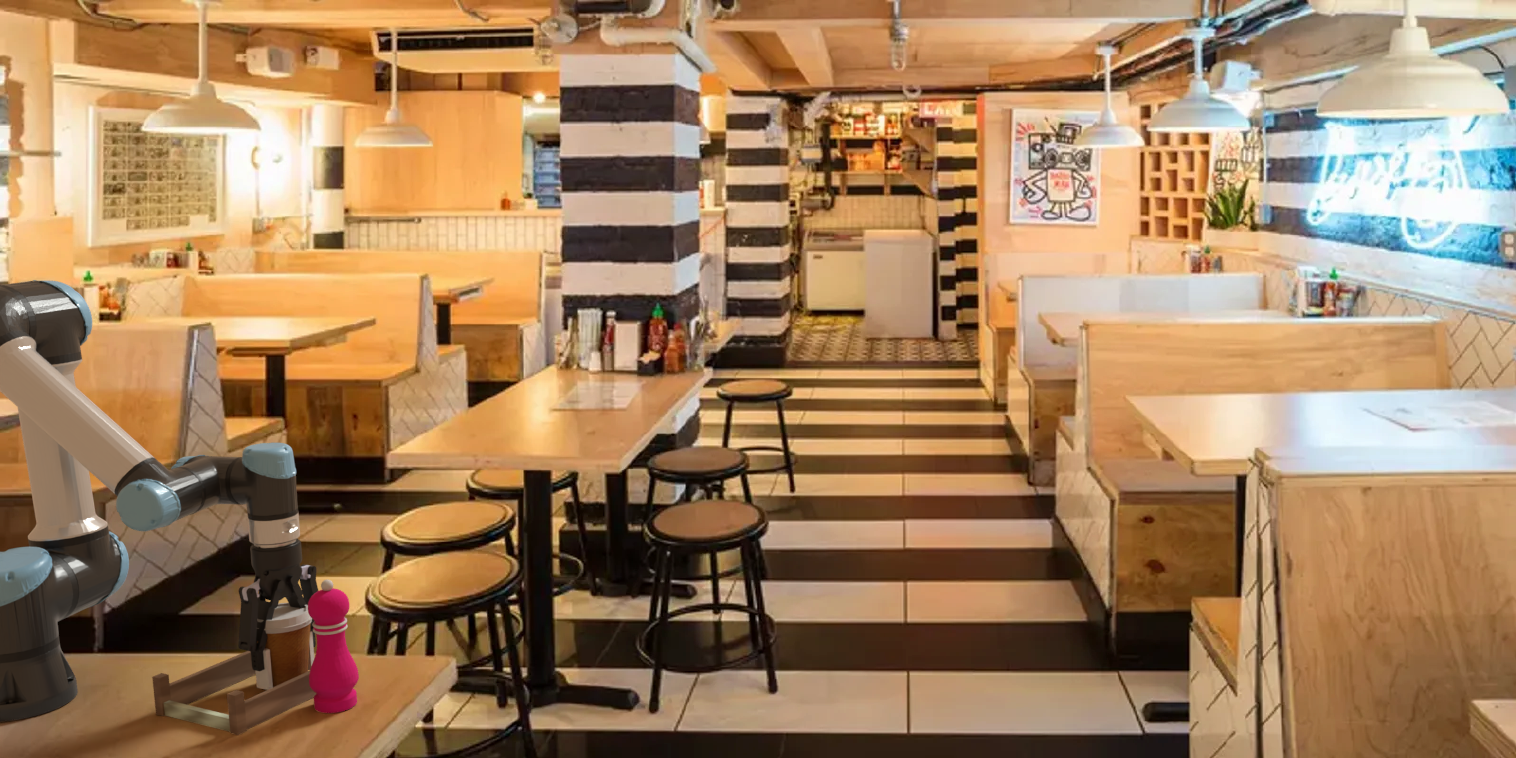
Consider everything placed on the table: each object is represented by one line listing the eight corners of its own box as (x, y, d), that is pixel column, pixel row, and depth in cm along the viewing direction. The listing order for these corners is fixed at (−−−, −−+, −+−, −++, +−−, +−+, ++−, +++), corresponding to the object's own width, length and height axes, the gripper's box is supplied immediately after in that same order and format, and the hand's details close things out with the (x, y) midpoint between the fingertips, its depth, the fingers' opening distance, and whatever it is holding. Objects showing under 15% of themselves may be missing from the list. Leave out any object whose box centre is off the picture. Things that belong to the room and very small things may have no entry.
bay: (155, 714, 191) (152, 676, 190) (262, 667, 209) (259, 633, 208) (238, 735, 183) (234, 695, 182) (341, 684, 201) (338, 648, 200)
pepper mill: (337, 692, 198) (328, 570, 195) (370, 701, 195) (362, 576, 192) (300, 709, 192) (290, 583, 189) (334, 718, 189) (324, 590, 185)
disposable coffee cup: (297, 696, 197) (291, 622, 195) (242, 692, 199) (236, 619, 197) (329, 673, 206) (324, 602, 204) (277, 669, 208) (271, 600, 206)
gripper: (238, 562, 188) (250, 706, 192) (342, 527, 206) (351, 659, 210) (203, 556, 191) (216, 698, 195) (308, 522, 210) (318, 652, 213)
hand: (286, 678), depth 202 cm, fingers closed on disposable coffee cup, 8 cm apart
